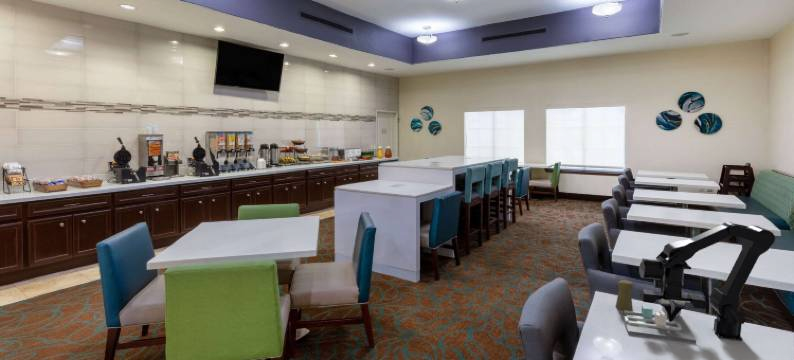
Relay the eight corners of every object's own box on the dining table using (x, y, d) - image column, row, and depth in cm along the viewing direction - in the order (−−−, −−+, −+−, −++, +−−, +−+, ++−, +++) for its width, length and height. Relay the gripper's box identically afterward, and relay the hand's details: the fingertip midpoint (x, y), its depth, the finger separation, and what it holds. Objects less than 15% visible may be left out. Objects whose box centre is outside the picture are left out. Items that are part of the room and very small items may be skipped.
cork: (635, 310, 164) (637, 284, 162) (620, 311, 164) (621, 284, 162) (627, 304, 170) (629, 278, 168) (612, 304, 170) (614, 278, 168)
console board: (681, 321, 154) (682, 308, 153) (695, 343, 139) (697, 328, 138) (621, 314, 161) (621, 301, 160) (628, 334, 146) (629, 320, 145)
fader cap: (663, 323, 150) (664, 312, 150) (665, 327, 147) (666, 315, 147) (654, 321, 151) (654, 311, 151) (656, 325, 149) (656, 314, 148)
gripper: (697, 274, 150) (693, 315, 152) (638, 269, 157) (635, 308, 159) (708, 286, 140) (704, 329, 142) (644, 279, 146) (641, 321, 148)
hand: (669, 321), depth 148 cm, fingers closed
